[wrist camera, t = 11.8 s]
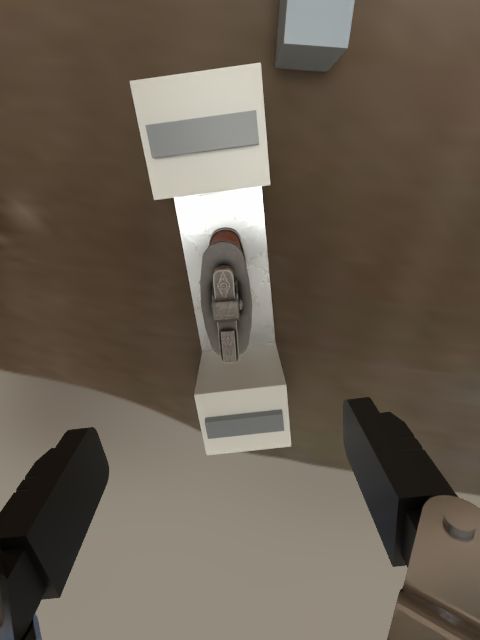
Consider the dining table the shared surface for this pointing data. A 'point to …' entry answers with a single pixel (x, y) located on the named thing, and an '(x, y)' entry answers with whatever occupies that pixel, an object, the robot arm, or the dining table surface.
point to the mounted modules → (207, 177)
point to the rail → (248, 220)
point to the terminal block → (312, 33)
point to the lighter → (226, 295)
